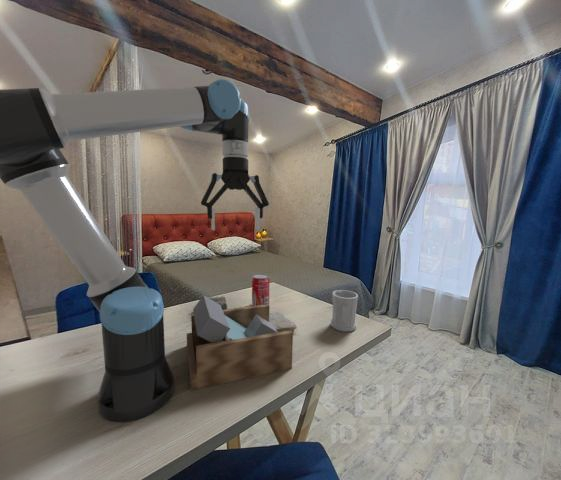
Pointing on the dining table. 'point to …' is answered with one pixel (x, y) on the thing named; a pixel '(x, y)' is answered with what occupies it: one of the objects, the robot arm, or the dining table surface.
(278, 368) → the brown open boxy piece
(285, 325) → the stone
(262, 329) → the block
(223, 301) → the rock
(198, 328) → the trapdoor
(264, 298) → the soda can
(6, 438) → the dining table surface
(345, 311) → the cup
